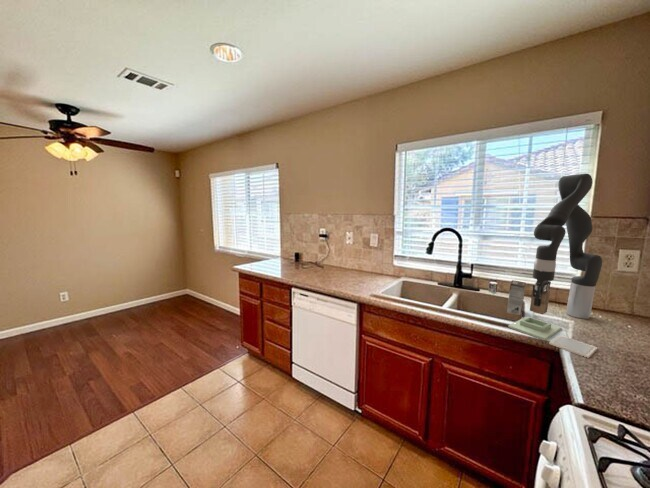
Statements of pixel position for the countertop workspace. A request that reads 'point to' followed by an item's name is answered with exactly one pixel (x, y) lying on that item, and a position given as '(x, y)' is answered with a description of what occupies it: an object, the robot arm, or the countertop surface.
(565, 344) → the plate
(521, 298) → the grey coffee bag
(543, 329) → the pocket board
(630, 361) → the countertop surface
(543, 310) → the walnut block
